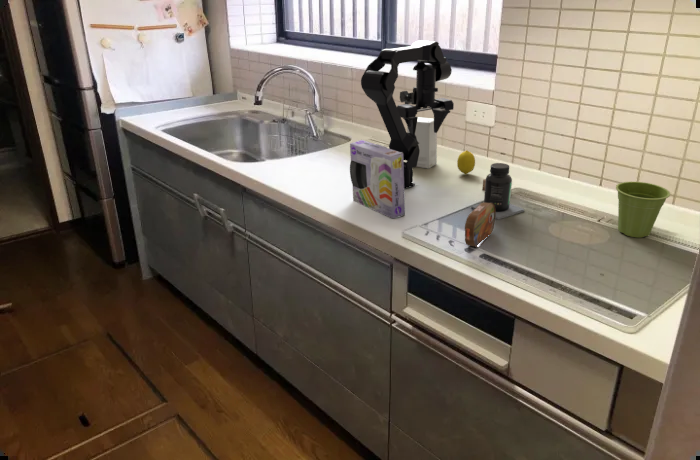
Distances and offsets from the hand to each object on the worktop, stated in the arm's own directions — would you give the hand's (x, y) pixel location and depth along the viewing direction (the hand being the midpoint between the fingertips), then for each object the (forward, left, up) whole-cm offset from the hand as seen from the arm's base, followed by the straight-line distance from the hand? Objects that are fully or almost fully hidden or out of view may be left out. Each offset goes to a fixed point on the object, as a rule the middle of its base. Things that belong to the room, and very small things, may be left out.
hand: (424, 134), depth 183 cm
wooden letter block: (+8, -24, -13) cm, 28 cm away
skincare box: (+6, +8, -13) cm, 17 cm away
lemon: (+11, -8, -13) cm, 19 cm away
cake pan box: (-29, -15, -13) cm, 35 cm away
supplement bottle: (-3, -35, -13) cm, 37 cm away
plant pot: (+14, -65, -13) cm, 68 cm away
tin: (-20, -46, -13) cm, 52 cm away
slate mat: (-3, -35, -13) cm, 37 cm away
